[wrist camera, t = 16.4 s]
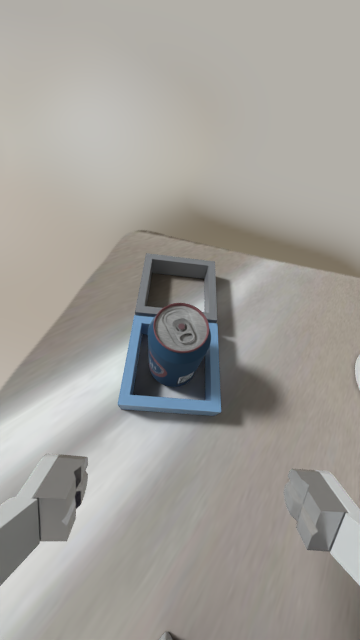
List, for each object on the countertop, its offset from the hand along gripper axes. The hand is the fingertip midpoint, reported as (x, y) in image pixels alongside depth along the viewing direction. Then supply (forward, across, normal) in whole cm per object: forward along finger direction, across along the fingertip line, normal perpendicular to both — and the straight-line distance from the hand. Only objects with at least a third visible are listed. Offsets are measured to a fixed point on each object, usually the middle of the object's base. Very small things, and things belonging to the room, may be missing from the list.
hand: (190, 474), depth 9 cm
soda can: (+23, 0, +6) cm, 24 cm away
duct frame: (+28, 0, +2) cm, 28 cm away
